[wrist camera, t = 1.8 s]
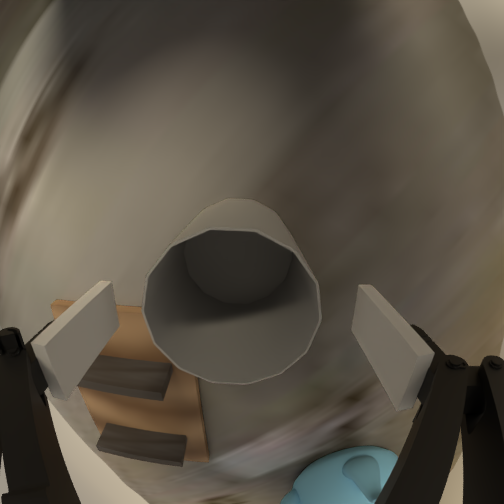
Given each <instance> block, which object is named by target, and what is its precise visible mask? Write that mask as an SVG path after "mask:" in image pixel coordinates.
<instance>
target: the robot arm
mask: <svg viewBox="0 0 504 504" xmlns="http://www.w3.org/2000/svg"><path fill="white" fill-rule="evenodd" d="M119 326H120V325H119V320H118V314H117V309H116V303H115V298H114V292H113V285H112V281H99V282H98V283H97V284H96V285H95V286H93V287H92V288H91V289H90V290H89V291H87V292H86V293H85V294H84V295H83V296H82V297H81V298H79V299H78V300H77V301H76V302H75V303H74V304H72V305H71V306H70V307H69V308H68V309H67V310H66V311H65V312H63V313H62V314H61V315H60V316H59V317H58V318H57V319H55V320H53V321H51V322H49V323H48V324H47V325H46V326H45V327H44V328H43V330H42V329H41V330H40V331H39V332H38V334H36V335H35V336H34V337H33V338H32V339H31V340H30V341H28V342H27V343H26V344H25V345H24V342H23V339H22V336H21V333H20V330H19V329H18V328H15V327H10V328H5V329H2V330H1V331H0V467H1V457H2V453H3V460H4V467H5V473H6V478H7V484H8V489H9V492H8V493H5V494H2V497H1V499H2V504H81V502H80V500H79V497H78V495H77V493H76V490H75V488H74V486H73V483H72V480H71V478H70V475H69V473H68V470H67V467H66V464H65V461H64V458H63V456H62V453H61V449H60V446H59V443H58V439H57V436H56V432H55V429H54V425H53V421H52V417H51V413H50V409H49V404H48V400H47V397H46V395H45V392H44V391H45V390H46V389H47V387H49V389H50V391H51V394H52V396H53V397H55V398H58V399H62V400H65V401H67V400H68V398H69V397H70V395H71V394H72V392H73V391H74V389H75V388H76V386H77V385H78V383H79V382H80V380H81V379H82V378H83V376H84V375H85V373H86V372H87V370H88V369H89V367H90V366H91V365H92V363H93V362H94V360H95V359H96V358H97V356H98V355H99V353H100V352H101V351H102V349H103V348H104V347H105V345H106V344H107V342H108V341H109V340H110V338H111V337H112V336H113V334H114V333H115V332H116V330H117V329H118V328H119ZM351 331H352V333H353V334H354V336H355V338H356V340H357V341H358V343H359V345H360V347H361V348H362V350H363V352H364V354H365V355H366V357H367V359H368V361H369V362H370V364H371V366H372V368H373V369H374V371H375V373H376V375H377V377H378V378H379V380H380V382H381V384H382V386H383V388H384V389H385V391H386V393H387V395H388V397H389V399H390V400H391V402H392V404H393V406H394V408H395V410H396V412H397V411H401V410H406V409H410V408H413V406H414V403H415V401H416V399H417V397H418V399H419V400H420V402H421V405H420V407H419V409H418V411H417V413H416V415H415V417H414V419H413V421H412V422H414V423H413V425H412V428H411V430H410V433H409V435H408V437H407V440H406V442H405V444H404V447H403V449H402V451H401V453H400V455H399V458H398V460H397V462H396V464H395V466H394V468H393V470H392V472H391V474H390V476H389V478H388V480H387V482H386V483H385V485H384V487H383V489H382V491H381V493H380V494H379V496H378V498H377V500H376V501H375V503H374V504H439V502H440V499H441V496H442V494H443V491H444V488H445V485H446V482H447V478H448V475H449V472H450V469H451V465H452V461H453V458H454V454H455V450H456V446H457V441H458V437H459V432H460V427H461V435H462V449H463V481H464V482H463V504H504V360H503V359H502V358H500V357H498V356H486V357H484V359H483V361H482V363H481V365H480V366H468V364H467V362H466V361H465V360H464V359H462V358H461V357H458V356H455V355H445V353H444V352H443V351H442V350H441V349H440V348H439V347H438V346H437V345H436V344H435V343H434V342H432V339H431V338H430V337H428V335H427V334H426V333H425V332H424V331H423V330H422V329H421V328H419V327H417V326H415V325H409V324H408V323H407V322H406V320H405V319H404V318H403V317H402V316H401V315H400V314H399V313H398V312H397V311H396V310H395V309H394V308H393V307H392V305H391V304H390V303H389V302H388V301H387V300H386V299H385V298H384V297H383V296H382V295H381V294H380V293H379V292H378V291H377V290H376V289H375V288H374V287H373V286H372V285H371V284H369V285H358V290H357V297H356V303H355V310H354V315H353V321H352V327H351Z"/></svg>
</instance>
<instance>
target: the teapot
mask: <svg viewBox="0 0 504 504" xmlns="http://www.w3.org/2000/svg"><path fill="white" fill-rule="evenodd" d="M397 460H398V456H397V455H396V454H395V453H393V452H392V451H390V450H387V449H384V448H381V447H377V446H357V447H352V448H347V449H343V450H340V451H337V452H334V453H331V454H329V455H326V456H324V457H322V458H320V459H318V460H316V461H314V462H313V463H311V464H310V465H309V466H308V467H306V468H305V470H304V471H303V472H302V473H301V474H300V475H299V476H298V478H297V479H296V480H295V482H294V484H293V488H292V490H291V491H290V492H289V493H288V494H286V495H285V497H284V498H283V499H282V500H281V503H280V504H374V503H375V501H376V500H377V498H378V496H379V494H380V493H381V491H382V489H383V487H384V485H385V483H386V482H387V480H388V478H389V476H390V474H391V472H392V470H393V468H394V466H395V464H396V462H397Z"/></svg>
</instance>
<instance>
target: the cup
mask: <svg viewBox="0 0 504 504" xmlns="http://www.w3.org/2000/svg"><path fill="white" fill-rule="evenodd" d="M141 312H142V314H143V317H144V320H145V323H146V325H147V328H148V331H149V333H150V336H151V338H152V341H153V344H154V345H155V346H156V347H157V348H158V349H159V350H160V351H161V352H162V353H163V354H164V355H165V356H166V357H167V358H168V359H169V360H170V361H171V362H172V363H173V364H174V365H175V366H176V367H177V368H178V369H180V370H182V371H185V372H187V373H189V374H192V375H194V376H196V377H198V378H201V379H203V380H206V381H208V382H210V383H220V384H239V385H249V384H252V383H255V382H258V381H262V380H265V379H268V378H271V377H274V376H277V375H280V374H282V373H283V372H284V371H286V370H287V369H288V368H289V367H290V366H292V365H293V364H294V363H295V362H296V361H298V360H299V359H300V358H301V357H302V356H303V355H305V354H306V353H307V352H308V350H309V348H310V346H311V344H312V341H313V339H314V337H315V335H316V332H317V330H318V328H319V326H320V323H321V321H322V314H321V302H320V291H319V283H318V281H317V279H316V278H315V276H314V274H313V272H312V270H311V269H310V267H309V265H308V263H307V261H306V260H305V258H304V256H303V254H302V253H301V251H300V249H299V247H298V245H297V244H296V242H295V240H294V238H293V237H292V235H291V233H290V231H289V230H288V229H287V227H286V226H285V224H284V223H283V221H282V220H281V219H280V217H279V216H278V214H277V213H276V212H275V211H274V210H272V209H270V208H268V207H266V206H265V205H263V204H261V203H259V202H257V201H255V200H253V199H234V198H227V199H224V200H222V201H220V202H218V203H215V204H213V205H211V206H209V207H206V208H204V209H203V210H202V211H201V212H200V213H199V214H198V215H197V216H196V217H195V218H194V219H193V220H192V222H191V223H190V224H189V225H188V226H187V227H186V228H185V229H184V230H183V231H182V232H181V233H180V234H179V235H178V236H177V237H176V238H175V239H174V240H173V241H172V242H171V244H170V245H169V246H168V247H167V248H166V250H165V251H164V252H163V254H162V255H161V256H160V258H159V259H158V260H157V262H156V263H155V264H154V265H153V267H152V268H151V269H150V271H149V272H148V273H147V275H146V279H145V286H144V293H143V301H142V309H141Z"/></svg>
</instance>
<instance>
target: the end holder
mask: <svg viewBox="0 0 504 504" xmlns="http://www.w3.org/2000/svg"><path fill="white" fill-rule="evenodd" d="M74 303H75V301H66V300H56V301H54V302H53V303H52V304H51V308H52V312H53V316H54V319H57V318H58V317H59V316H60V315H61V314H62V313H63V312H65V311H66V310H67V309H68V308H69V307H70V306H71V305H72V304H74ZM116 309H117V314H118V320H119V325H120V326H119V328H118V329H117V330H116V332H115V333H114V334H113V336H112V337H111V338H110V340H109V341H108V342H107V344H106V345H105V347H104V348H103V349H102V351H101V352H100V353H99V355H98V356H97V358H96V359H95V360H94V362H93V363H92V365H91V366H90V367H89V369H88V370H87V372H86V373H85V375H84V376H83V378H82V379H81V380H80V382H79V383H78V385H77V386H78V387H79V390H80V392H81V394H82V397H83V399H84V401H85V403H86V406H87V408H88V410H89V412H90V414H91V416H92V418H93V420H94V422H95V424H96V426H97V428H98V430H99V432H100V434H101V436H100V438H99V440H98V443H97V445H96V446H97V448H98V450H99V451H102V452H106V453H110V454H114V455H118V456H123V457H127V458H132V459H137V460H142V461H147V462H153V463H159V464H165V465H172V466H180V467H182V466H183V461H184V460H187V461H197V462H209V450H208V445H207V439H206V433H205V426H204V420H203V413H202V406H201V399H200V392H199V384H198V377H196V376H194V375H192V374H189V373H187V372H185V371H182V370H180V369H178V368H177V367H176V366H175V365H174V364H173V363H172V362H171V361H170V360H169V359H168V358H167V357H166V356H165V355H164V354H163V353H162V352H161V351H160V350H159V349H158V348H157V347H156V346H155V345H154V344H153V341H152V338H151V336H150V333H149V331H148V328H147V325H146V323H145V320H144V317H143V314H142V312H141V309H142V307H134V306H120V305H116Z"/></svg>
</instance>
